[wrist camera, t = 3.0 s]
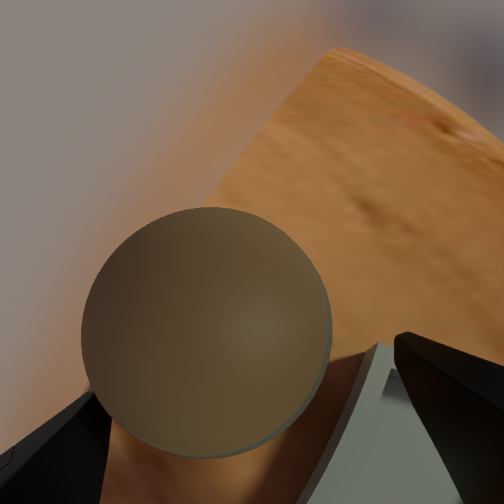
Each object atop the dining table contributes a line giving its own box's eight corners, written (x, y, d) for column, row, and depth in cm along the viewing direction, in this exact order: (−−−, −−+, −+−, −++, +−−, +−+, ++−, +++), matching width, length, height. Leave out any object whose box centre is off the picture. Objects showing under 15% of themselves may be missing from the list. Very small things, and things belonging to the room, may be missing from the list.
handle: (286, 428, 14) (258, 509, 3) (211, 395, 15) (46, 369, 5) (319, 353, 16) (370, 245, 5) (245, 324, 17) (153, 182, 6)
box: (445, 559, 7) (463, 575, 4) (273, 537, 11) (268, 559, 8) (519, 394, 12) (546, 389, 9) (365, 351, 15) (378, 342, 13)
